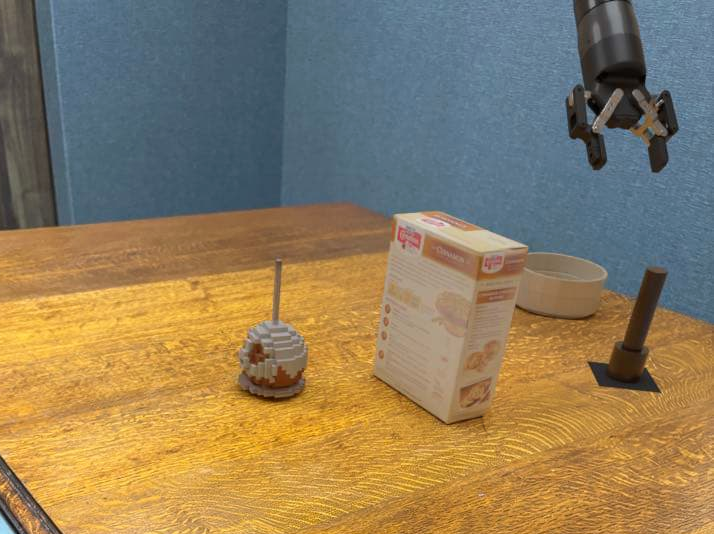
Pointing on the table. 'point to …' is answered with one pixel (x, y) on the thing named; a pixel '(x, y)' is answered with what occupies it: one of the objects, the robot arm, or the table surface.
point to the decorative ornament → (273, 354)
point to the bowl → (560, 285)
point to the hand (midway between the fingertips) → (630, 168)
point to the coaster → (642, 385)
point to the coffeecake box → (447, 312)
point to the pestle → (637, 330)
